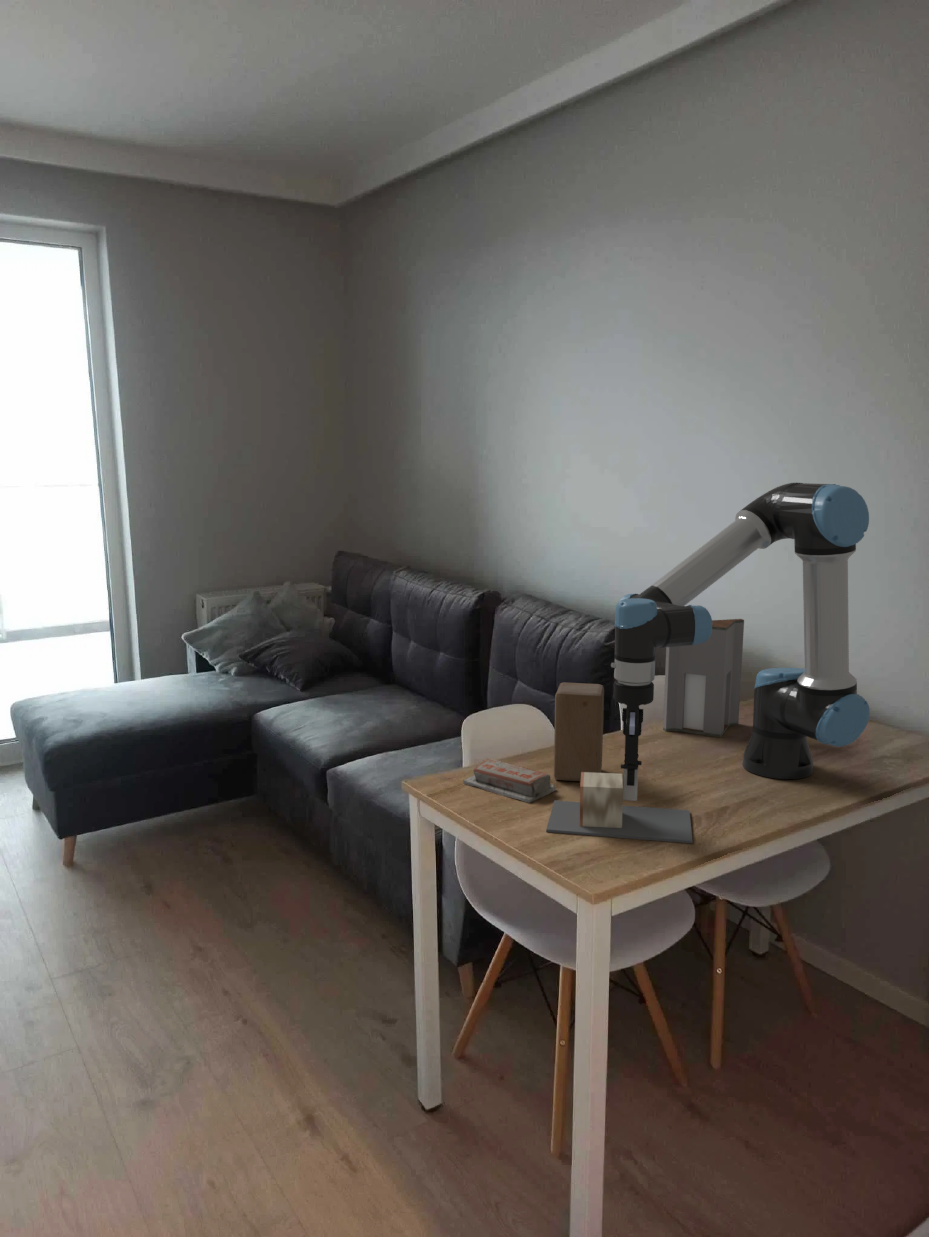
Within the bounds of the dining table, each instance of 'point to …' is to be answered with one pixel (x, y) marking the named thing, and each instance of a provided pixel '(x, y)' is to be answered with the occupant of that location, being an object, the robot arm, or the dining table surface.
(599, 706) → the wooden block
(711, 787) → the dining table surface
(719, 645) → the cabinet
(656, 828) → the rubber mat
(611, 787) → the cube
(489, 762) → the packaged product
